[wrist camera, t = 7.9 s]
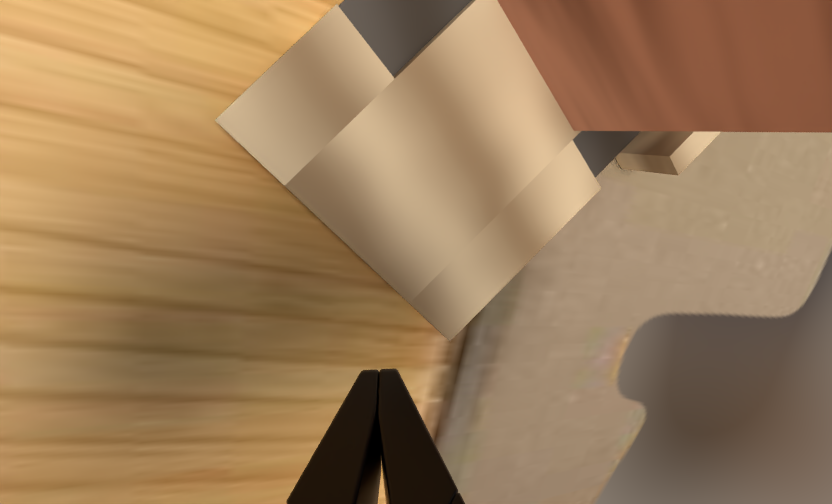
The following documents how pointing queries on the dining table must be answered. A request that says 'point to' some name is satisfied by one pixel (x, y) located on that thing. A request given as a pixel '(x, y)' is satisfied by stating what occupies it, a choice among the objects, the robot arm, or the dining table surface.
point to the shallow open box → (433, 146)
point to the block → (683, 62)
